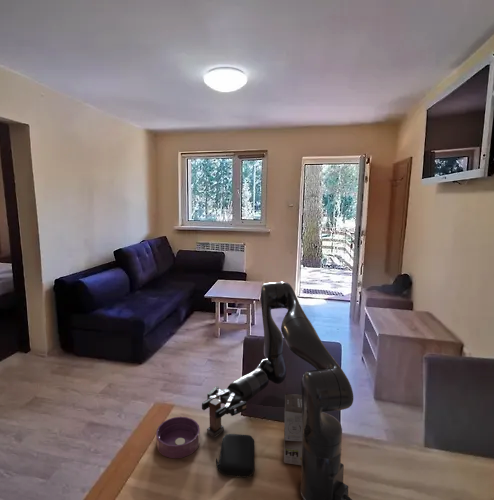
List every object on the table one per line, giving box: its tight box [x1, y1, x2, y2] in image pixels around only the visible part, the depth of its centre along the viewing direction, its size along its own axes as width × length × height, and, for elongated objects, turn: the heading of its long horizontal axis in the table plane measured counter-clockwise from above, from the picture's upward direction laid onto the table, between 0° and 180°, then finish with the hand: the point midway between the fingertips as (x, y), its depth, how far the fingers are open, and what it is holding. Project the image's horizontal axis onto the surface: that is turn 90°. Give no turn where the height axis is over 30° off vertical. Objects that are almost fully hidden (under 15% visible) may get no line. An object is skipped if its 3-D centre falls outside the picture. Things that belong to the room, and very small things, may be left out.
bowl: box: [155, 416, 201, 459], centre depth 102 cm, size 13×13×4 cm
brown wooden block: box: [206, 399, 225, 438], centre depth 106 cm, size 4×3×11 cm
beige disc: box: [175, 438, 185, 445], centre depth 102 cm, size 3×3×1 cm
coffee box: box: [283, 393, 303, 466], centre depth 97 cm, size 9×6×16 cm
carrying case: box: [215, 433, 255, 478], centre depth 96 cm, size 11×3×15 cm
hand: (209, 411), depth 104 cm, fingers open, 5 cm apart
